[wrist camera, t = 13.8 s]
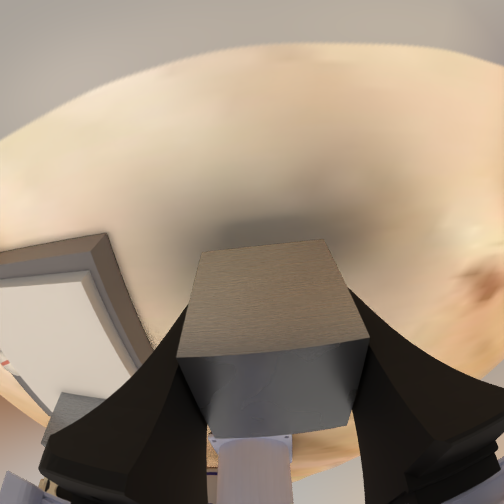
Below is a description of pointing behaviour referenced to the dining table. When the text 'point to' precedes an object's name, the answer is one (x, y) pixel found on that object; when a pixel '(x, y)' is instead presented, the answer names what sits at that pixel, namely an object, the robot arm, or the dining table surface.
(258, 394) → the block
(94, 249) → the kitchen scale
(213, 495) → the energy drink
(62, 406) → the block
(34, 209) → the dining table surface
